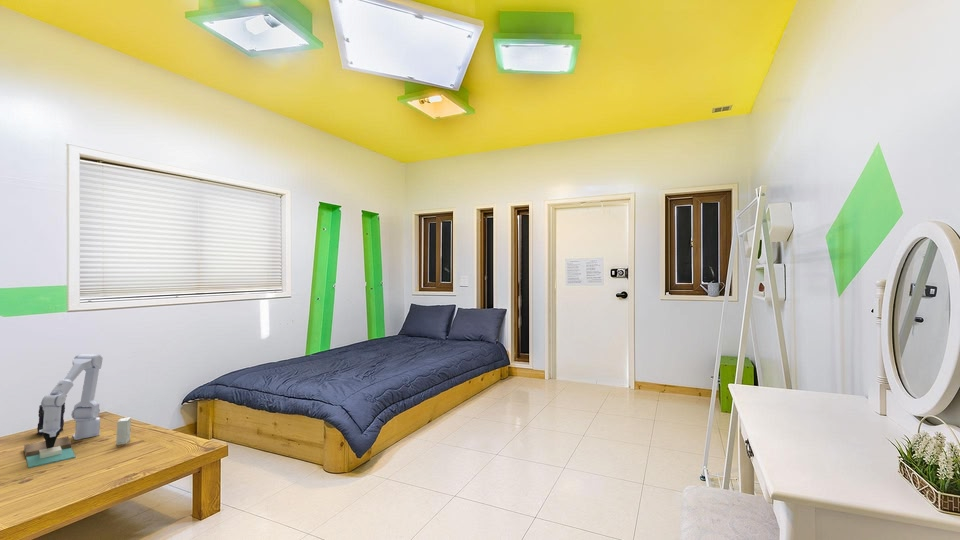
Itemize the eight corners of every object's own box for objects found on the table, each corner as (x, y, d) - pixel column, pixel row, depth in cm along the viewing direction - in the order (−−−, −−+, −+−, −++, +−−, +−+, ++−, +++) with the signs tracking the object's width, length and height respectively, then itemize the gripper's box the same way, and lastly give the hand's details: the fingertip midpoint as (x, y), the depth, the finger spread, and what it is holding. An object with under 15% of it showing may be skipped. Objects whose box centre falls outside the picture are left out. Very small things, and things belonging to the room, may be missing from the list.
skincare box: (126, 444, 210) (128, 420, 210) (115, 445, 208) (117, 421, 208) (130, 439, 216) (132, 416, 216) (119, 440, 214) (121, 417, 214)
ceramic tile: (59, 450, 198) (60, 445, 198) (61, 454, 194) (61, 449, 195) (38, 454, 193) (39, 450, 193) (40, 458, 189) (40, 454, 189)
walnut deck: (67, 441, 209) (68, 436, 209) (71, 448, 202) (71, 443, 202) (24, 449, 197) (24, 444, 198) (26, 457, 190) (26, 452, 190)
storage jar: (53, 427, 224) (55, 400, 225) (68, 429, 223) (70, 402, 223) (31, 434, 215) (33, 406, 215) (46, 436, 213) (49, 408, 213)
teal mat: (71, 448, 201) (71, 447, 201) (75, 457, 193) (75, 456, 193) (26, 458, 190) (26, 456, 190) (28, 468, 181) (28, 466, 181)
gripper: (38, 417, 197) (36, 445, 196) (41, 425, 188) (39, 454, 187) (59, 413, 202) (57, 441, 202) (63, 421, 193) (61, 450, 193)
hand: (50, 447), depth 195 cm, fingers closed
